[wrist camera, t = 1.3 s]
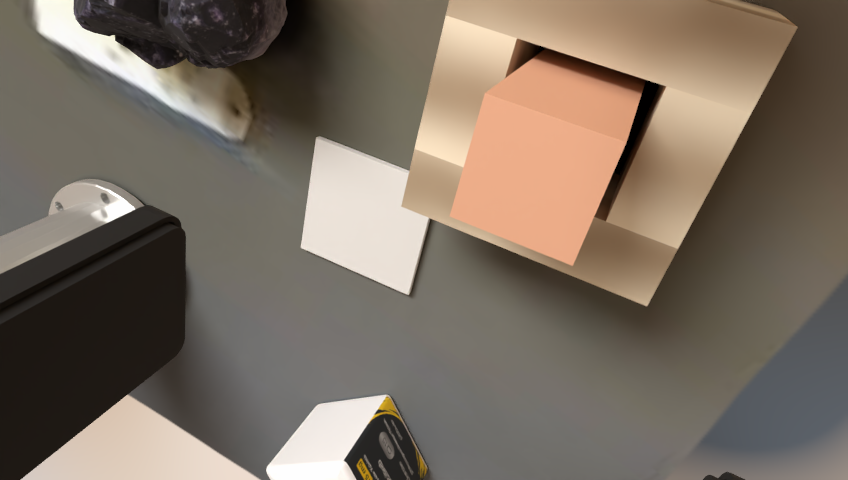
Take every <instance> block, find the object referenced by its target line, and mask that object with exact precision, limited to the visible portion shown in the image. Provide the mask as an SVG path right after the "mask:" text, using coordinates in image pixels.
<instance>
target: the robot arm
mask: <svg viewBox="0 0 848 480" xmlns="http://www.w3.org/2000/svg"><path fill="white" fill-rule="evenodd" d="M185 253H186V236H185V232H184V230H183V229H182V228H181V223H180V221H179V219H178V218H176V217H175V216H172V215H170V214H168V213H166V212H164V211H162V210H159V209H157V208H155V207H153V206H149V205H145V206H144V205H143V204H142V203H141V202H140V201H139V200H138V199H137V198H135V197H134V196H133V195H131V194H130V193H128V192H127V191H125V190H124V189H122V188H120V187H118V186H116V185H114V184H112V183H109V182H106V181H102V180H98V179H85V180H80V181H76V182H74V183H72V184H69V185H67V186H64V187H63V188H62V189H61V190H60V191H58V192H57V193H56V195H55V196H54V198H53V200H52V203H51V206H50V210H49V216H48V217H45V218H43V219H41V220H38V221H36V222H34V223H31V224H29V225H27V226H24V227H22V228H19V229H17V230H15V231H12V232H10V233H8V234H5V235H3V236H1V237H0V480H20V479H22V478H23V477H24V476H25V475H26V474H28V473H29V472H31V471H32V470H33V469H34V468H35V467H37V466H38V465H39V464H41V463H42V462H43V461H44V460H45V459H47V458H48V457H49V456H51V455H52V454H53V453H54V452H56V451H57V450H58V449H59V448H61V447H62V446H63V445H64V444H66V443H67V442H68V441H70V440H71V439H72V438H73V437H75V436H76V435H77V434H78V433H80V432H81V431H82V430H83V429H85V428H86V427H87V426H88V425H90V424H91V423H92V422H93V421H95V420H96V419H97V418H98V417H100V416H101V415H102V414H103V413H105V412H106V411H107V410H108V409H110V408H111V407H112V406H113V405H115V404H116V403H117V402H119V401H120V400H121V399H122V398H123V397H125V396H126V395H127V394H129V393H130V392H131V391H132V390H134V389H135V388H136V387H137V386H139V385H140V384H141V383H142V382H144V381H145V380H146V379H147V378H149V377H150V376H151V375H152V374H154V373H155V372H156V371H158V370H159V369H160V368H161V367H163V366H164V365H165V364H166V363H168V362H169V361H170V360H171V359H173V358H174V357H175V356H176V355H177V354H178V352H179V351H180V350H181V348H182V346H183V343H184V340H185ZM703 480H745V479H742V478H740V477H738V476H736V475H734V474H732V473H729V472H726V473H724V474H722V475H721V476H720V477H719V478H716V477H714V476H712V475H708V476H706V477H705V478H704V479H703Z"/></svg>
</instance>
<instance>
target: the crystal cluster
mask: <svg viewBox="0 0 848 480" xmlns="http://www.w3.org/2000/svg"><path fill="white" fill-rule="evenodd" d="M74 15H75V17H76V20H77V21H78V22H79V24H80V25H81V26H82V28H84V29H86V30H89V31H91V32H94V33H98V34H102V35H107V36H111V35H115V41H117V42H118V43H120V44H121V45H123V46H125V47H126V48H128V49H129V50H130V51H132V52H133V53H134V54H136V55H137V56H138V57H140V58H141V59H142V60H144V61H145V62H147V63H148V64H150V65H151V66H153V67H155V68H156V69H161V68H167V67H170V66H173V65H175V64H177V63H179V62H181V61H183V60H184V59H186V58H187V59H188V61H189V62H191V63H192V64H194V65H196V66H199V67H205V66H206V67H207V68H218V67H221V68H225V67H227V66H232V65H234V64H236V63H238V62H241V61H244V60H251V59H254V58H257V57H259V56H261V55H263V54H264V52H265V51H266V50H267V48H268V47H269V45H270V44H271V42H272V41H273V40H274V39H275V38H276V37H277V36H278V34H279V32H280V30H281V28H282V26H283V25H284V22H285V20H286V17H287V9H286V0H74Z"/></svg>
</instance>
